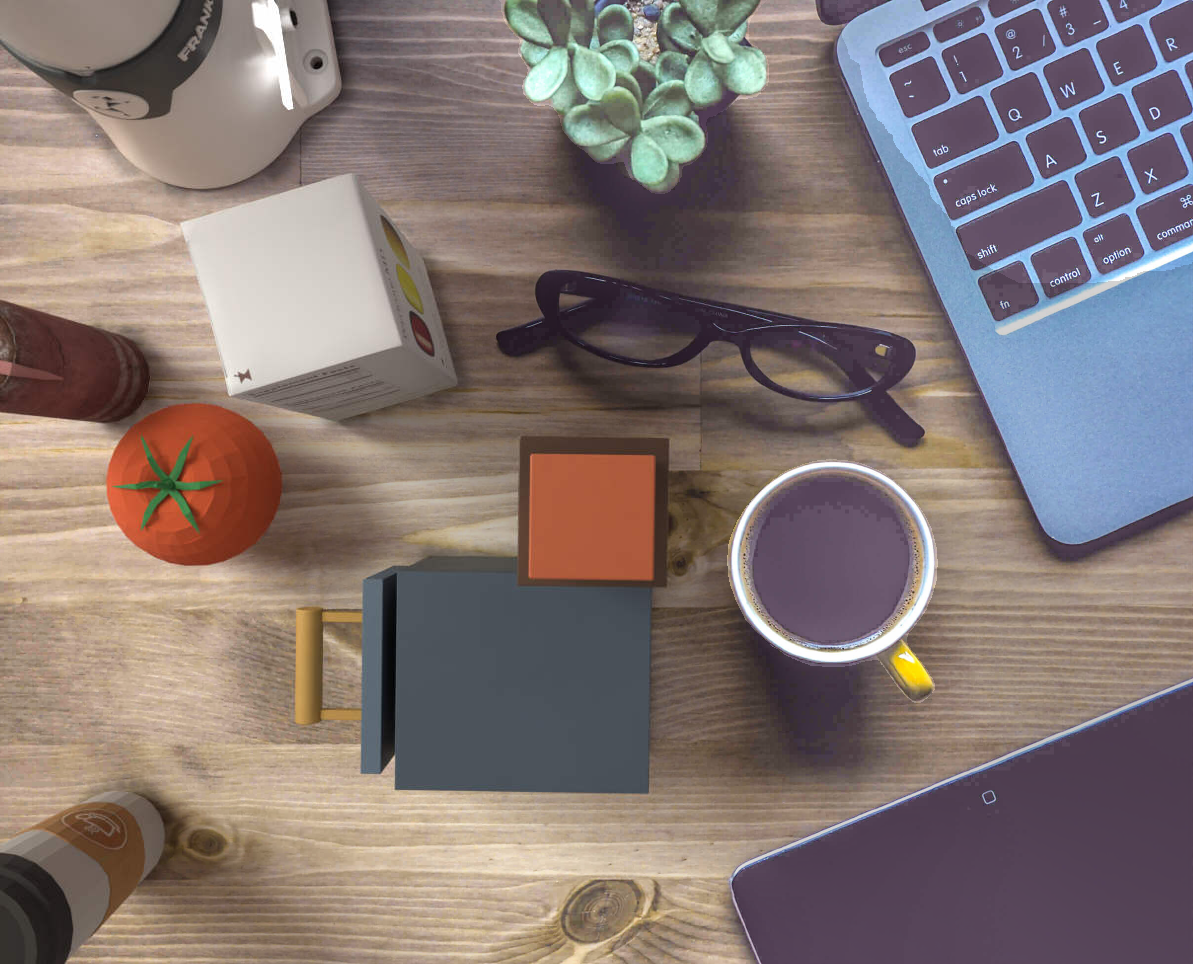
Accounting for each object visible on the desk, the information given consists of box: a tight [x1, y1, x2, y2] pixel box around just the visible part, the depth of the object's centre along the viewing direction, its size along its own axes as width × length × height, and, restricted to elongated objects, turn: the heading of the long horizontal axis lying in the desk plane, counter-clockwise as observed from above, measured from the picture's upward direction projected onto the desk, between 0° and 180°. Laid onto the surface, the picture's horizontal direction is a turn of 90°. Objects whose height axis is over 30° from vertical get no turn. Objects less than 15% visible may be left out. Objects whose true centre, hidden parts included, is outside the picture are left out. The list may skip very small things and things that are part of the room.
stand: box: [516, 435, 670, 589], centre depth 48 cm, size 6×6×25 cm
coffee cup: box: [0, 790, 166, 964], centre depth 54 cm, size 8×8×15 cm
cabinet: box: [394, 555, 653, 795], centre depth 56 cm, size 15×13×10 cm
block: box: [529, 454, 656, 581], centre depth 33 cm, size 4×4×4 cm
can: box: [0, 299, 152, 424], centre depth 54 cm, size 6×6×14 cm
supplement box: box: [179, 171, 459, 422], centre depth 52 cm, size 10×9×17 cm
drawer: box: [294, 565, 409, 775], centre depth 56 cm, size 18×11×8 cm, turn 89°
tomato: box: [106, 402, 283, 567], centre depth 56 cm, size 10×10×10 cm
